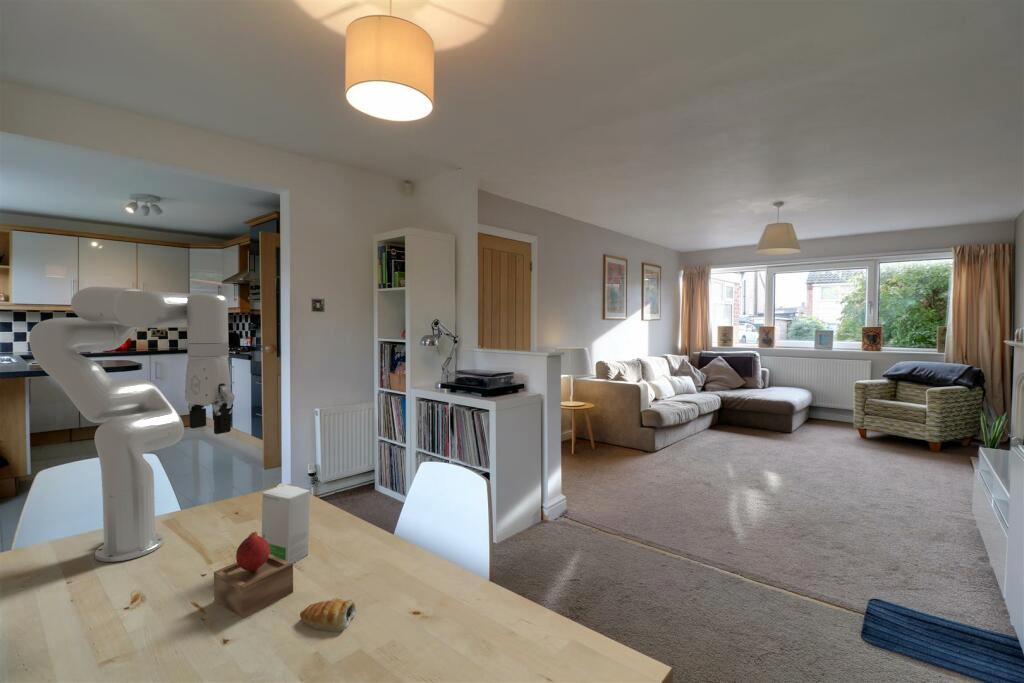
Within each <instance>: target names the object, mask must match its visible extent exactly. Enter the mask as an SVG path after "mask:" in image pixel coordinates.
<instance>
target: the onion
mask: <svg viewBox="0 0 1024 683" xmlns="http://www.w3.org/2000/svg"><path fill="white" fill-rule="evenodd" d="M269 554H270V547H269V545H268V543H267V541H266V540H265V539H264V538H262V536H260V535H258V532H257V531H256V530H254V531H253V530H252V531H251V533H250V534H249V536H247V537H246V538H244V540H243V541H242V542H241V544H239V546H238V547H237V550H236V554H235V559H236V562H237V564H238V565H239V566H240V567H241V568H242V569H244V570H246V571H250V572H255V571H257V570H258V569H259V568H260V567H261V566H262V565H263V564H264V563H265V562H266V561H267V559H268V557H269Z"/></svg>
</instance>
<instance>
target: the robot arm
mask: <svg viewBox="0 0 1024 683" xmlns="http://www.w3.org/2000/svg"><path fill="white" fill-rule="evenodd" d="M228 302H229V301H228V299H227V297H226V296H225V295H222V294H217V293H186V292H185V293H184V292H173V291H172V292H171V291H169V292H168V291H149V290H148V291H145V290H141V289H139V288H134V287H133V288H132V287H118V286H117V287H114V286H90V287H84V288H82V289H80V290H78V291H77V292H75V293H74V295H73V296H72V298H71V301H70V307H71V310H72V312H74V314H75V315H76V316H77V317H56V318H49V319H45V320H41V321H40V322H38V323H36V324H35V325H33V327H32V328H31V330H30V333H29V341H28V342H29V348H30V352H31V353H32V356H33V358H34V360H35V362H36V363H37V364H38V366H39V367H40V368H41V369H42V370H43V371H44V372H45V373H46V374H47V375H49V377H51V379H53V380H54V381H55V382H56V383H57V384H58V385H59V386H60V387H61V388H62V389H63V391H64V392H65V394H66V395H67V397H68V398H69V399H70V401H71V402H72V403H73V405H74V406H75V408H76V409H77V410H78V411H79V412H80V413H81V415H82V416H83V417H84V418H85V419H86V420H87V421H89V422H92V423H96V424H98V423H100V425H99V426H98V428H97V429H96V430H95V433H94V444H95V449H96V452H97V455H98V460H99V464H100V471H101V472H100V473H101V490H102V491H101V493H102V522H103V524H102V525H103V526H102V527H103V544H102V545H101V546H99V547H98V548H97V549H96V550H95V552H94V554H95V557H94V558H95V559H96V560H98V561H99V562H106V563H114V562H123V561H129V560H132V559H136V558H140V557H143V556H145V555H148V554H150V553H152V552H154V551H156V550H157V549H159V548H160V547H161V546H163V544H164V536H163V535H162V534H160V533H157V532H156V517H155V516H156V514H155V513H156V511H155V510H156V509H155V508H156V506H155V476H154V475H155V474H154V470H153V468H152V465H151V464H150V463H149V462H148V460H146V459H145V457H144V454H147V453H149V452H155V451H158V450H162V449H165V448H168V447H171V446H173V445H175V444H177V443H178V442H180V441H181V440H182V438H183V436H184V433H185V425H184V422H183V420H182V418H181V416H180V414H179V412H177V410H176V409H175V407H174V406H173V404H171V402H170V401H169V400H168V399H167V397H166V396H165V394H163V392H162V391H161V390H160V389H159V387H158V386H157V385H155V384H154V383H153V382H152V381H149V380H147V379H144V378H133V379H123V380H118V379H113V378H112V377H111V376H109V374H107V371H106V370H105V369H104V368H103V367H102V365H100V364H99V363H97V362H96V361H94V360H92V359H90V358H88V357H86V356H84V355H82V354H80V353H88V352H89V353H92V352H106V351H107V352H108V351H113V350H116V349H118V348H120V347H122V346H123V345H124V344H125V343H126V341H127V340H128V339H129V338H130V337H131V336H132V334H134V332H135V331H136V330H137V329H138V328H147V329H157V328H158V329H159V328H161V329H162V328H163V329H164V328H186V333H187V334H186V338H187V342H186V343H187V363H186V370H185V372H186V373H185V381H184V382H185V385H184V388H185V389H184V398H185V401H186V402H187V403H188V406H187V408H188V410H189V414H188V416H189V428H190V429H198V428H203V427H206V426H207V408H206V407H209V406H212V408H213V410H214V413H215V414H214V415H213V434H215V435H221V434H226V433H230V432H231V428H232V425H231V422H232V421H231V420H232V419H231V414H232V412H233V407H234V401H235V396H236V395H235V394H234V393H233V391H232V390H231V388H232V387H231V375H230V366H229V361H228V360H229V359H228V358H230V356H229V355H230V354H229V353H230V352H229V348H230V347H229V303H228Z"/></svg>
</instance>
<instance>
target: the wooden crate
mask: <svg viewBox="0 0 1024 683" xmlns="http://www.w3.org/2000/svg"><path fill="white" fill-rule="evenodd" d="M292 593H294V563H293V564H292V563H290V562H288V561H285V560H283V559H281V558H278V557H276V556H273V555H271V554H269V557H268V559H267V561H266V562H265V563H264V564H263V565H262V566H261V567H260V568H259V569H258V570H257V571H255V572H250V571H246V570H244V569H242V568H241V567H240V566H239V565H238V564H237V561H236V562H234V563H232V564H229V565H227V566H225V567H222V568H220V569H218V570H216V571H213V597H214V598H213V599H214V600H213V601H214V603H216V604H218V605H220V606H222V607H223V608H225V609H227V610H229V611H231V612H232V613H234V614H236V615H237V616H239V617H241V618H243V619H245V618H248V617H249V616H252V614H255V613H257V612H259V611H260V610H262V609H264V608H266V607H268V606H270V605H272V604H273V603H275V602H277V601H279V600H281V599H283V598H285V597H288V596H289V595H290V594H291V595H292Z"/></svg>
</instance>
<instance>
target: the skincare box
mask: <svg viewBox="0 0 1024 683" xmlns="http://www.w3.org/2000/svg"><path fill="white" fill-rule="evenodd" d="M310 494H311V490H309V489H305V488H301V487H299V486H292V485H289V484H281V485H279V486H277V487H274V488H272V489H268V490H265V491H264V492H262V503H261V506H262V509H261V537H262V538H264V539H265V540H266V541H267V543H268V545H269V547H270V554H271V555H273V556H276V557H278V558H281V559H283V560H285V561H288V562H290V563H292V564H293V565H294V564H295V563H297V562H298V560H299V561H300V560H303V559H304V558H305V557H307V556H309V541H310V540H309V539H310V538H309V536H310V535H309V534H310V533H309V532H310V501H311V500H310V497H311V496H310ZM306 555H307V556H306ZM303 557H304V558H303ZM296 561H297V562H296Z"/></svg>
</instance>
